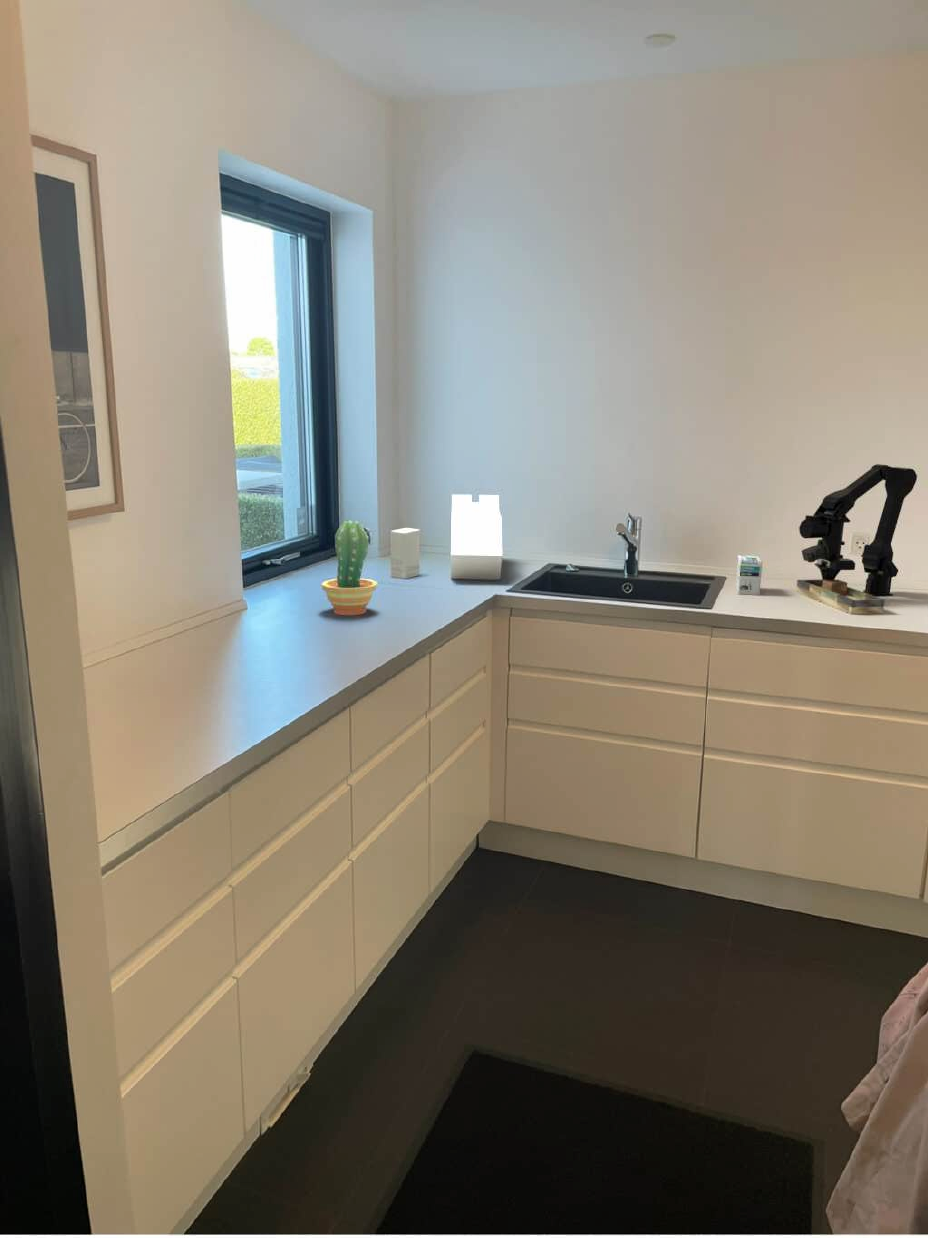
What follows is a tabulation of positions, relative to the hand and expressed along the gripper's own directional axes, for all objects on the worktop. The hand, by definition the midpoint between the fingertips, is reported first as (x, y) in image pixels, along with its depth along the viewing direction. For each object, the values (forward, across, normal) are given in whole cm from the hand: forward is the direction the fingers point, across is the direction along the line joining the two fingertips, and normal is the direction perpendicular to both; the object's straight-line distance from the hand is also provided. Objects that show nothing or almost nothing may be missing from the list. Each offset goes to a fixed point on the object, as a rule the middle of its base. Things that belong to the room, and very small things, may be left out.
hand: (826, 587), depth 282 cm
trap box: (+3, +6, 0) cm, 7 cm away
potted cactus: (+4, +4, -145) cm, 145 cm away
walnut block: (+1, +4, 0) cm, 4 cm away
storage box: (+4, -50, -100) cm, 112 cm away
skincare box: (+4, -45, -124) cm, 132 cm away
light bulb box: (+4, -11, -20) cm, 23 cm away
